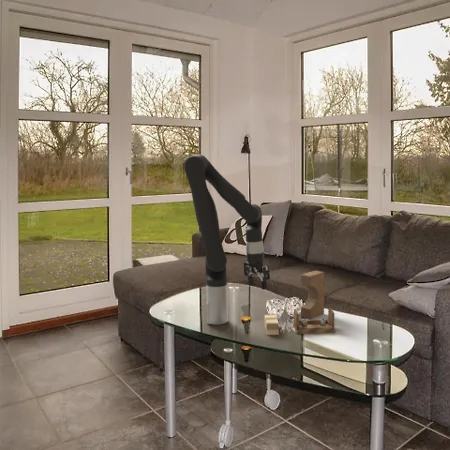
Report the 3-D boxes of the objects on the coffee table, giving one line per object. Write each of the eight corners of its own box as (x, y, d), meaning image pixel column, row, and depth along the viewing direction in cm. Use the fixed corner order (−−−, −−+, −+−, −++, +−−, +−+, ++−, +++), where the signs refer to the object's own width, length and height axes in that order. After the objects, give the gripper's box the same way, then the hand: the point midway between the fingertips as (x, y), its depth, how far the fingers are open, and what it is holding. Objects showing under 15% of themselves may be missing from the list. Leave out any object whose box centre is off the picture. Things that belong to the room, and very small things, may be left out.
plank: (278, 335, 213) (278, 323, 212) (266, 335, 213) (266, 323, 213) (276, 325, 225) (275, 314, 224) (264, 325, 225) (264, 314, 224)
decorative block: (309, 319, 231) (310, 276, 228) (300, 316, 235) (300, 274, 232) (324, 314, 238) (325, 272, 235) (315, 311, 242) (315, 270, 239)
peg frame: (296, 333, 213) (297, 315, 212) (293, 325, 223) (293, 308, 222) (335, 332, 214) (335, 314, 213) (329, 324, 224) (329, 307, 222)
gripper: (237, 250, 224) (240, 286, 227) (259, 254, 213) (262, 292, 215) (250, 247, 228) (253, 282, 231) (272, 251, 217) (275, 288, 220)
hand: (257, 287), depth 223 cm, fingers open, 8 cm apart
